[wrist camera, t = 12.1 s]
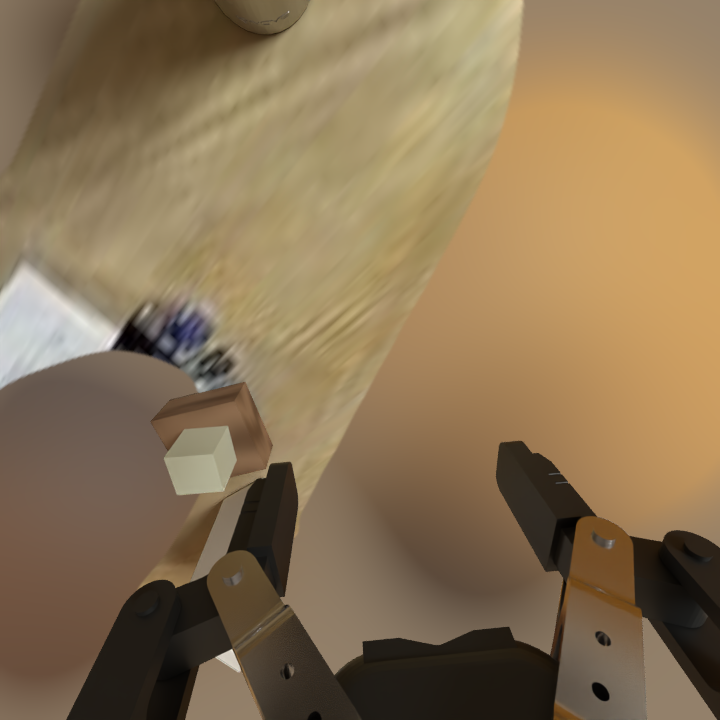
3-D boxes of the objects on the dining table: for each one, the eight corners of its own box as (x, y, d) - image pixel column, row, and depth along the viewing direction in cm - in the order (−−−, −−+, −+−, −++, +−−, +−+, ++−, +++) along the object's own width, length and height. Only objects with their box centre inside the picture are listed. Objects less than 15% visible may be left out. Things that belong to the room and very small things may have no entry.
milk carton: (255, 526, 52) (212, 684, 35) (223, 498, 50) (160, 652, 32) (293, 506, 51) (267, 659, 34) (262, 476, 48) (218, 625, 31)
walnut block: (170, 399, 43) (150, 421, 39) (245, 380, 43) (234, 401, 38) (204, 459, 47) (189, 486, 43) (273, 443, 47) (265, 468, 42)
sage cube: (184, 429, 39) (163, 457, 35) (227, 425, 39) (212, 454, 35) (195, 463, 41) (177, 495, 37) (236, 460, 41) (223, 491, 37)
